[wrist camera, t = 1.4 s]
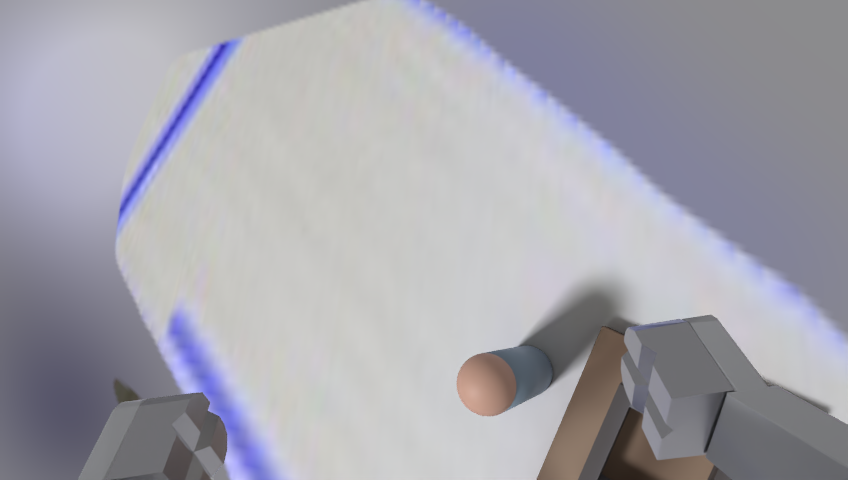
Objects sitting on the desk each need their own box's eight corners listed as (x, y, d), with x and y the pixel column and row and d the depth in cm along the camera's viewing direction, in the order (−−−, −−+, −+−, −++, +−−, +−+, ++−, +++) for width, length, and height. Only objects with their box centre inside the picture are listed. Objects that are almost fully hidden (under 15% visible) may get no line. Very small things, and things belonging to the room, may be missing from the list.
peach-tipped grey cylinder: (560, 359, 44) (516, 374, 33) (540, 405, 44) (491, 434, 34) (515, 337, 46) (460, 344, 36) (497, 380, 46) (437, 400, 36)
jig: (813, 419, 35) (828, 432, 31) (726, 608, 36) (729, 643, 32) (605, 326, 43) (595, 327, 39) (537, 485, 44) (520, 501, 40)
